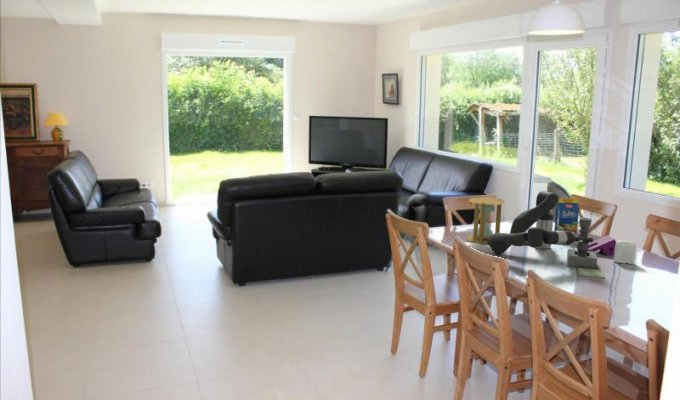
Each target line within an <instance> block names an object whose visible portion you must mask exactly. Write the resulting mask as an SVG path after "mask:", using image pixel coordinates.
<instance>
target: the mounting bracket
mask: <svg viewBox="0 0 680 400" xmlns="http://www.w3.org/2000/svg"><path fill="white" fill-rule="evenodd" d="M616 242H617V241H616V239H615V238H614V237H612V236H610V235H608V234H606V235H605V236H603V237H600V238H598V239H595V240H593V242H589V250H588V251H592V252H597V251H600V252H602V253H604V254H605V255H607V256H614V252H615V245H616Z"/></svg>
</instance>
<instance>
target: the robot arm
mask: <svg viewBox="0 0 680 400" xmlns="http://www.w3.org/2000/svg"><path fill="white" fill-rule="evenodd" d="M559 199H560V197H559V196H558V194H557V193H554V192H550V191H545V190H541V191H540V192H538V193H537V196H536V199H535V207H532V208H529V209H526V210H524V211H522V212H521V213H519V215H517V216H516V217H515V218H514V219H513V221H512V224H511V228H510V231H509V232H500V233H495V232H494V233H492V235H491V236H490V237H489V238H488V239H487V243H488V244H487V245H488V247H490V249H491V250H492V252H493V253H494V254H495V255H496V256H500V255H502V254H505V252H507V250H509V248H510V247H511V246H513V247H530V248H534V249H542V250H550V249H551V248H552V245H555V246H570V245H572V244H573V243H575V244H576V243H577V244H578V243H585V244H589V243H590V242H593V241H594V238H593V237H588V238H584V237H583V236H580V233H577V234H573V233H572V232H570V231H554V230H553V227H554V214H553V213H552V212H551V211H552V210H553V209H554V208H555V207H557V205H558V203H559ZM535 223H536V224H535ZM533 225H535V226H533ZM580 237H581V238H580Z"/></svg>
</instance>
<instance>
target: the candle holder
mask: <svg viewBox="0 0 680 400" xmlns="http://www.w3.org/2000/svg"><path fill="white" fill-rule="evenodd" d="M578 225H579V227H580V228H579V229H578V231H579V234H580V236H583V237H584V238H589V233H590V232H591V230H590V227H591V225H592V218H589V217H580V218H579V221H578ZM580 238H581V237H580ZM576 250H578V254H577V255H582V256H587V254H586V253H587V251H588V250H589V244H585V243H578V242H577V245H576Z"/></svg>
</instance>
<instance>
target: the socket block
mask: <svg viewBox="0 0 680 400" xmlns="http://www.w3.org/2000/svg"><path fill="white" fill-rule="evenodd" d="M566 254H567V255H566V264H567V265H566V266H567V267H568V268H569V267H570V268H577V269H578V268H585V269H594V270H597V267H598V265H597V264H598V256H597V251H595V252H592V251H587V253H586V254H587V256H582V255H577V254H578V250H577V249H571V248H568V249H567V253H566Z"/></svg>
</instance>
